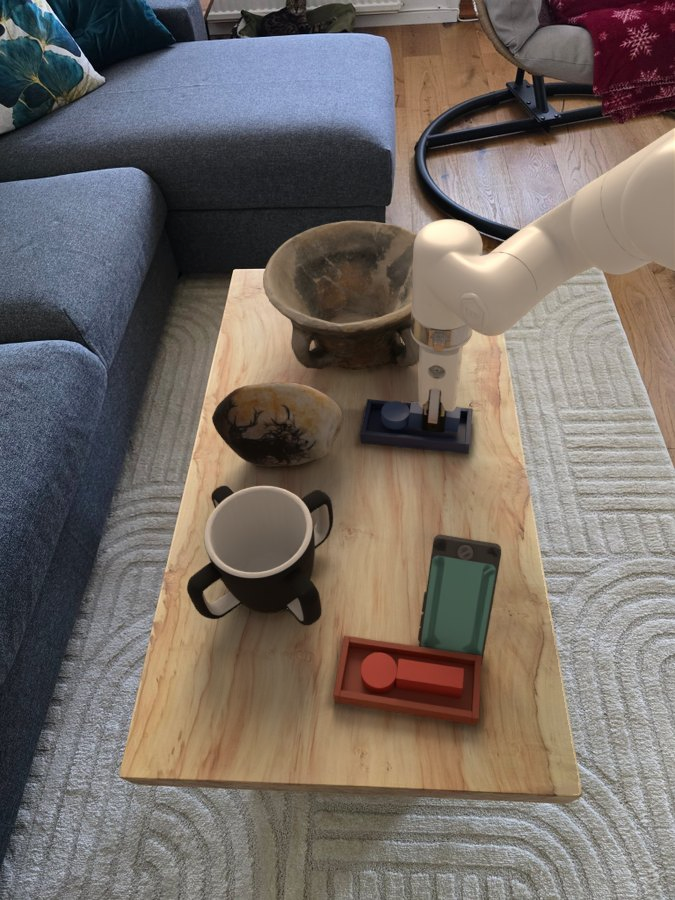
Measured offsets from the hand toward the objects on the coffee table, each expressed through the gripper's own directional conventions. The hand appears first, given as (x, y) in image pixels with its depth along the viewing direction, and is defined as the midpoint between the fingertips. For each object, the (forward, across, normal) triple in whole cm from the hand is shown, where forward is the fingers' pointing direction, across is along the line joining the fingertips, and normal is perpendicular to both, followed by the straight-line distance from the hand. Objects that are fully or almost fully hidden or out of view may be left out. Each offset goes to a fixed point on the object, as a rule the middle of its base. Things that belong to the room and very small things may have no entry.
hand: (434, 421), depth 97 cm
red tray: (+2, -37, -1) cm, 37 cm away
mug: (+2, -27, +17) cm, 32 cm away
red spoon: (+2, -37, 0) cm, 37 cm away
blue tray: (+2, 0, +2) cm, 3 cm away
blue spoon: (0, 0, +3) cm, 3 cm away
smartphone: (-4, -29, -5) cm, 30 cm away
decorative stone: (+2, -8, +20) cm, 22 cm away
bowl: (+2, +18, +14) cm, 23 cm away
